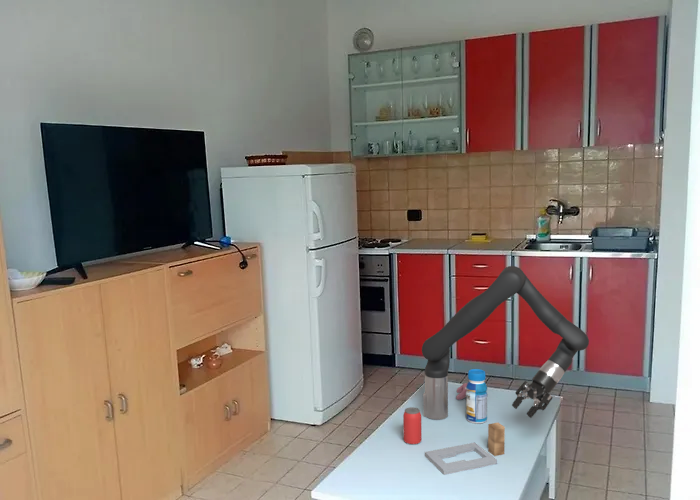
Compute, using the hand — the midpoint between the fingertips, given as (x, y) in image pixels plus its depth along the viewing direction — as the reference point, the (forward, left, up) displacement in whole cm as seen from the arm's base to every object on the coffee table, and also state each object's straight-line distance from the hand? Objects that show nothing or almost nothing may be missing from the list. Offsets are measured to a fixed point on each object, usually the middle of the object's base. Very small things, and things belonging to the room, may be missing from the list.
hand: (521, 411), depth 205 cm
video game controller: (-32, +41, -14) cm, 53 cm away
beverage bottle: (-20, +18, -14) cm, 30 cm away
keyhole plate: (-17, -17, -13) cm, 28 cm away
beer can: (-37, -10, -14) cm, 41 cm away
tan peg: (-7, -7, -13) cm, 17 cm away
